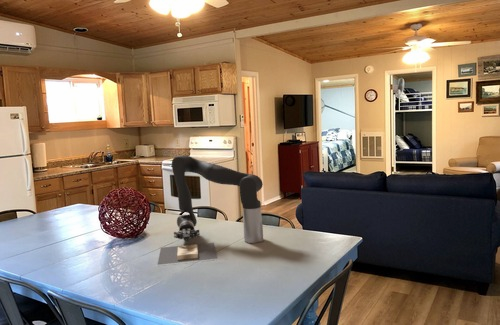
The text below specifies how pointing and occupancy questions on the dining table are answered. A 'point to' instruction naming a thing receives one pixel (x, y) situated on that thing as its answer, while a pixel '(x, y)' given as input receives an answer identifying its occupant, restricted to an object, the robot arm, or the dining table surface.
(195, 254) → the birch tile
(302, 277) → the dining table surface
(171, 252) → the rubber mat
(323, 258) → the dining table surface
